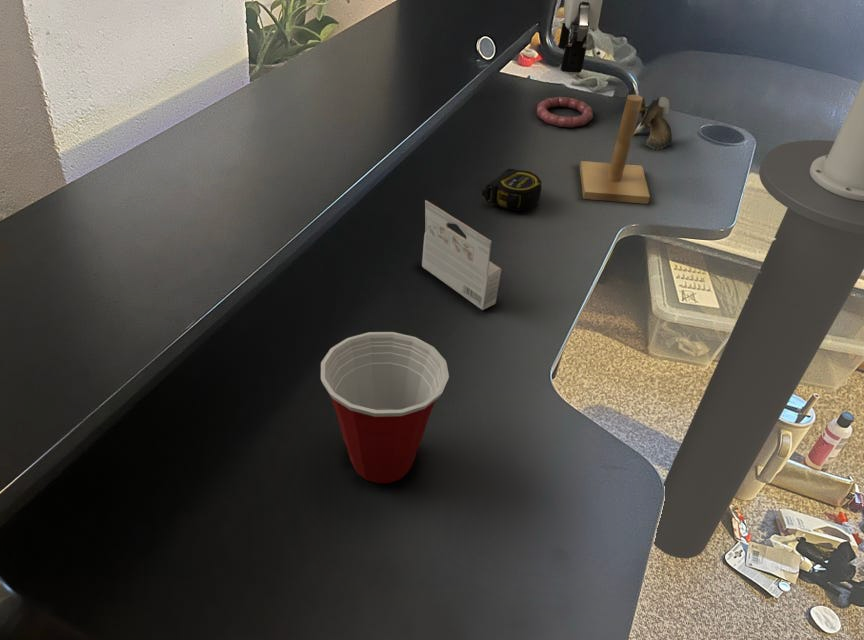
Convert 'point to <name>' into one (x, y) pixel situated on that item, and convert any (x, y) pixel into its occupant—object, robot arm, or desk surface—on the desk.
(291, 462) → the desk surface
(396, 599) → the desk surface
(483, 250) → the ink cartridge box
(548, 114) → the ring
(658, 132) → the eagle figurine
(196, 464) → the desk surface
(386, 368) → the plastic cup
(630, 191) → the stand
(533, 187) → the tape measure
